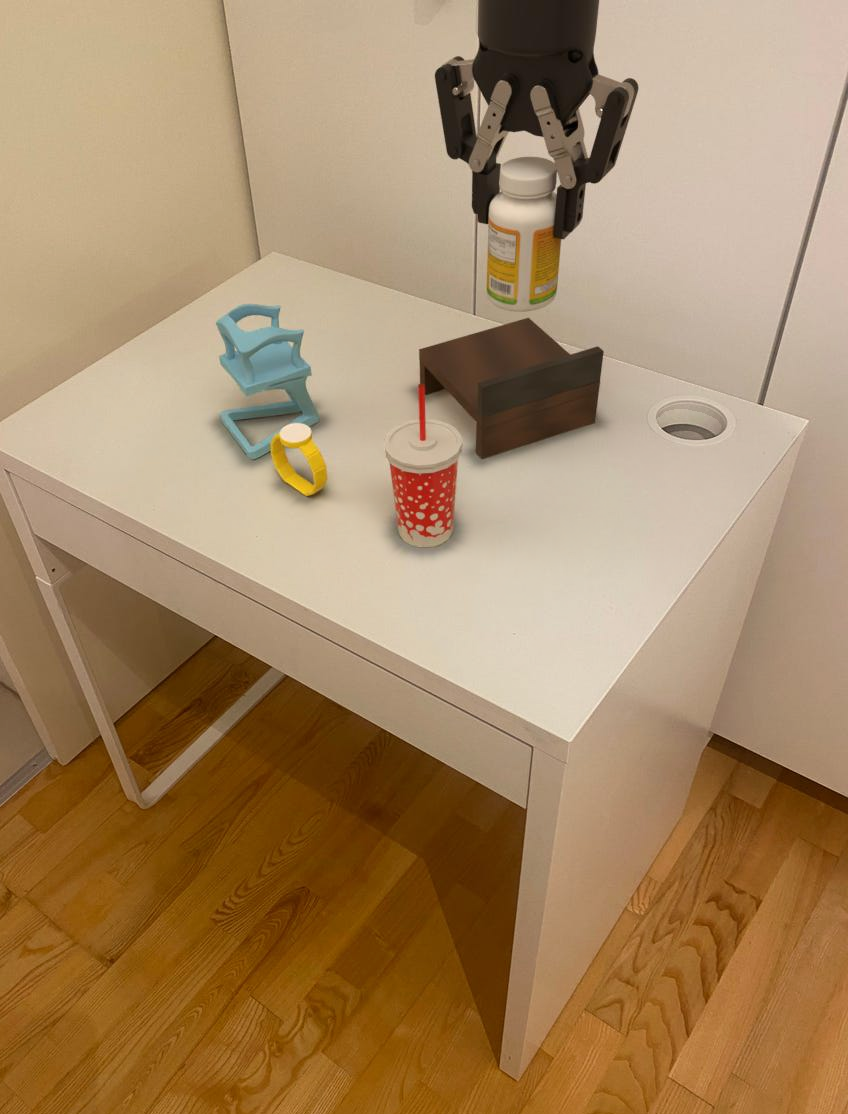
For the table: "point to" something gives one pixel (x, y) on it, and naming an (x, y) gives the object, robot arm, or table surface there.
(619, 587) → the table surface
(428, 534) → the beverage cup
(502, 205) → the supplement bottle
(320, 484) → the watch
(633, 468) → the table surface
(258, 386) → the chair
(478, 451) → the shelf
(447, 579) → the table surface
